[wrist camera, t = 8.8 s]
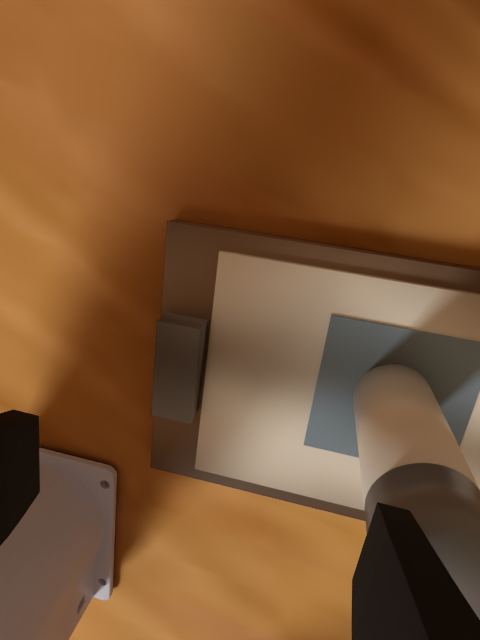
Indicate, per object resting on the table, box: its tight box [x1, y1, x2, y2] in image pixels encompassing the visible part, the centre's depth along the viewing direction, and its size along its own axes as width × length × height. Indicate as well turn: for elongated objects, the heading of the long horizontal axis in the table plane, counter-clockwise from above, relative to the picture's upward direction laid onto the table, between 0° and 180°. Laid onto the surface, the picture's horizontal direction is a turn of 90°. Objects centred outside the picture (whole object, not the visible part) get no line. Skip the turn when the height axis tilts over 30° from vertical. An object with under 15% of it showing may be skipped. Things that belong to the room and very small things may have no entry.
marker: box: [353, 364, 480, 619], centre depth 13 cm, size 3×3×8 cm
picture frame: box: [150, 219, 480, 521], centre depth 18 cm, size 12×16×2 cm
